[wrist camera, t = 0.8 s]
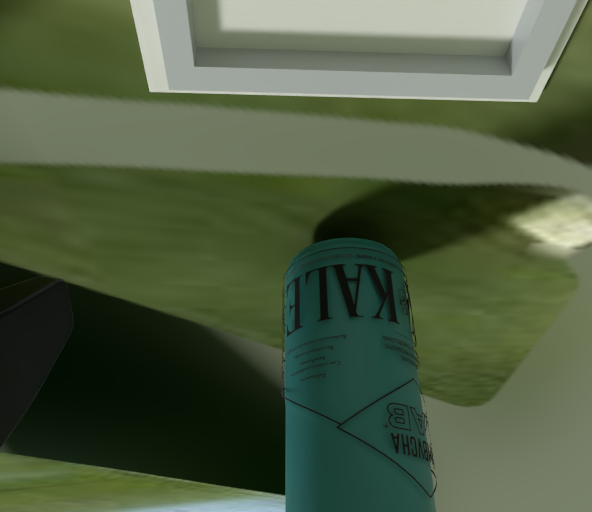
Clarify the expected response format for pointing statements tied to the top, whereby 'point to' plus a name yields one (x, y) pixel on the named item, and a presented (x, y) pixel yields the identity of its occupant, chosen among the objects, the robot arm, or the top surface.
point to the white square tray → (355, 47)
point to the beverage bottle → (352, 384)
